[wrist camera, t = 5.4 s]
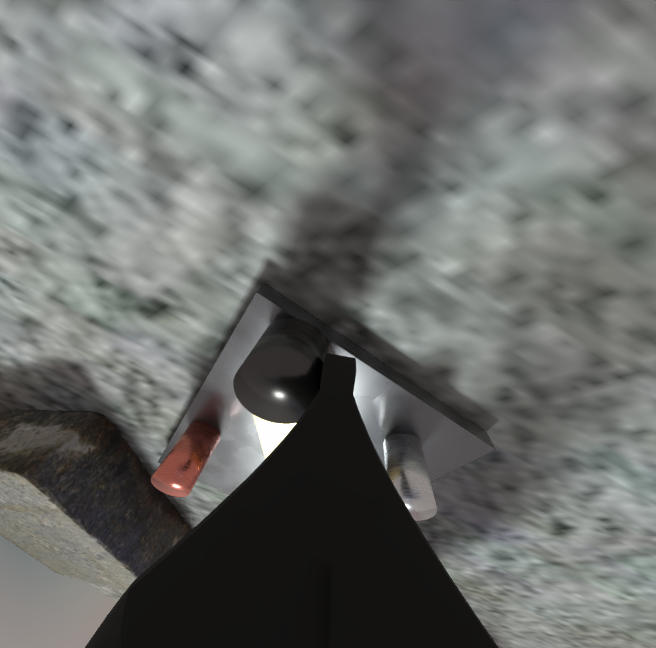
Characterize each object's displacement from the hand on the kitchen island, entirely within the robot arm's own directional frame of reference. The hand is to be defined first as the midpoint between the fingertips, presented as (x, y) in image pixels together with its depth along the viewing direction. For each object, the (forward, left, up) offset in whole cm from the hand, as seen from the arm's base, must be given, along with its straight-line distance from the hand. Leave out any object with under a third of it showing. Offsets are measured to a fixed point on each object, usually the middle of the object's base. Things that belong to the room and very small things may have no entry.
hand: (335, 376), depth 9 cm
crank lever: (-5, -1, -1) cm, 5 cm away
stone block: (-27, +8, -4) cm, 28 cm away
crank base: (-8, -4, -3) cm, 9 cm away
